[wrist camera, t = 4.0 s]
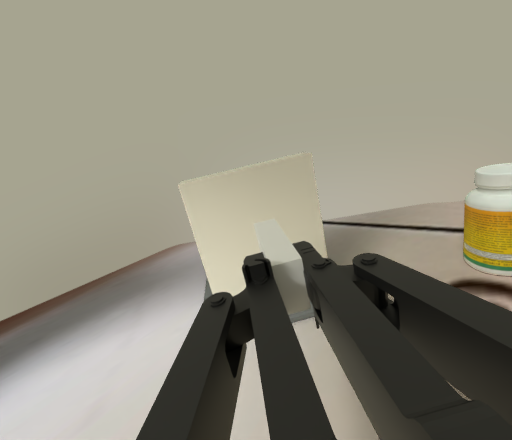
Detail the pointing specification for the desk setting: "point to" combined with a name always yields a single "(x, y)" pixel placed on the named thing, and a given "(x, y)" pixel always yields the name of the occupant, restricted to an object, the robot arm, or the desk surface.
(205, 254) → the tile
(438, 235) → the desk surface
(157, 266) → the desk surface
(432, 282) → the robot arm
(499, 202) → the supplement bottle
